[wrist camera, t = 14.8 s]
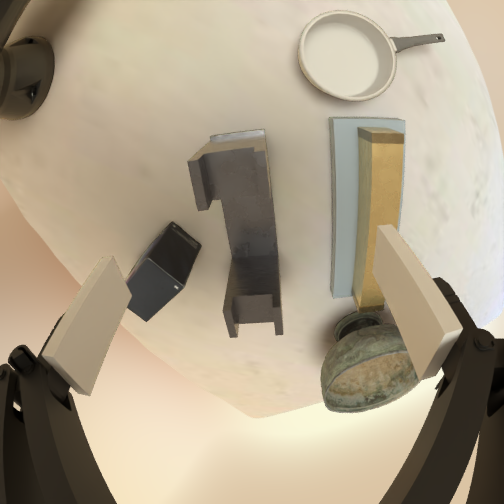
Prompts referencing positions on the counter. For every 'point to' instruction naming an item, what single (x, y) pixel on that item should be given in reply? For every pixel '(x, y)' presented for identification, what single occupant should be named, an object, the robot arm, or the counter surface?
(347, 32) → the saucepan
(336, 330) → the bowl
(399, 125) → the board
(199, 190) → the grey metal bracket
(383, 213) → the rail
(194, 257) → the small box
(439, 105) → the counter surface
